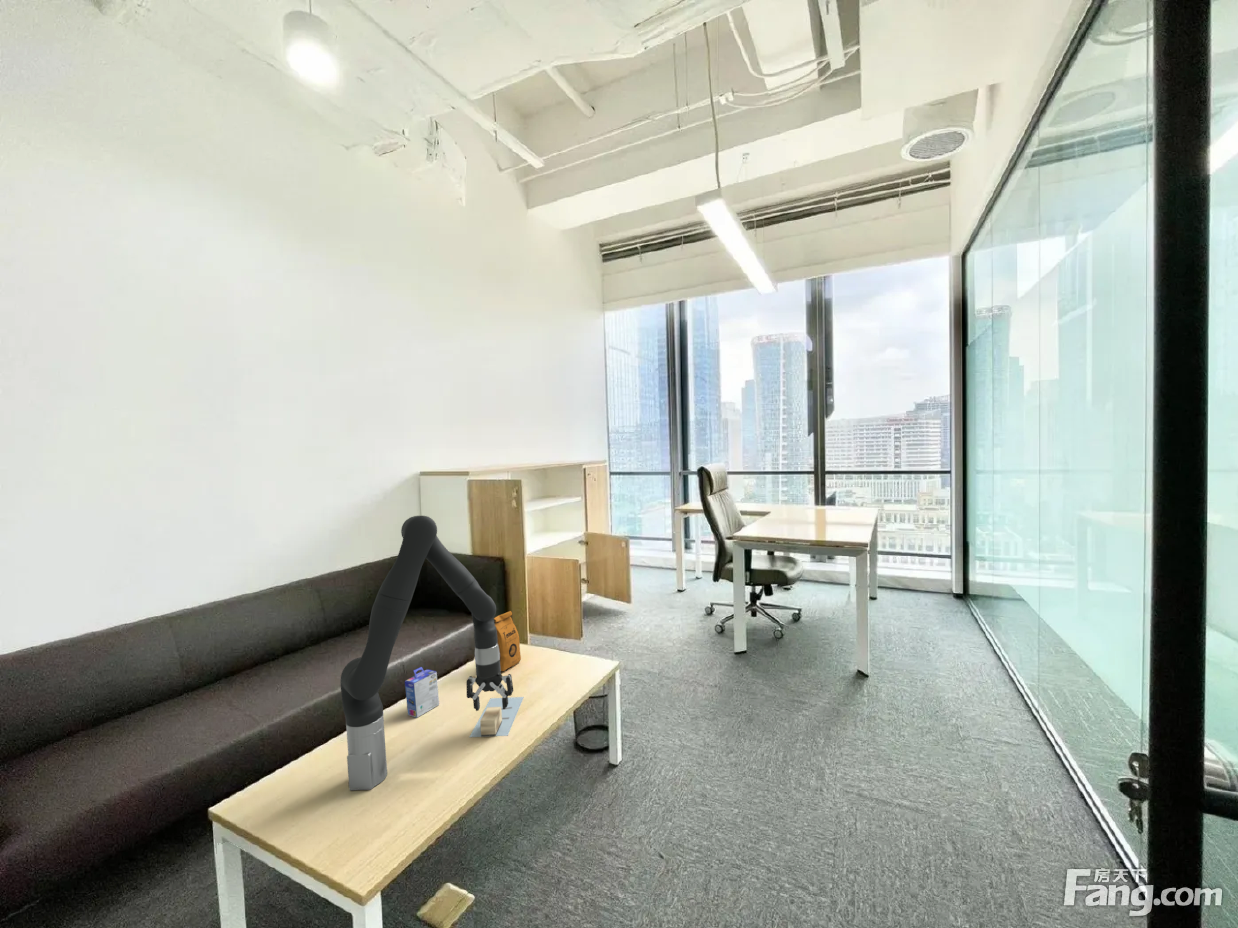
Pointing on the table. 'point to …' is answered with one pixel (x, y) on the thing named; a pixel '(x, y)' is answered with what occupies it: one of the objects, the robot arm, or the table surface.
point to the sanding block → (491, 721)
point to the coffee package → (507, 641)
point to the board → (507, 715)
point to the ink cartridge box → (421, 692)
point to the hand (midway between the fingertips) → (491, 708)
